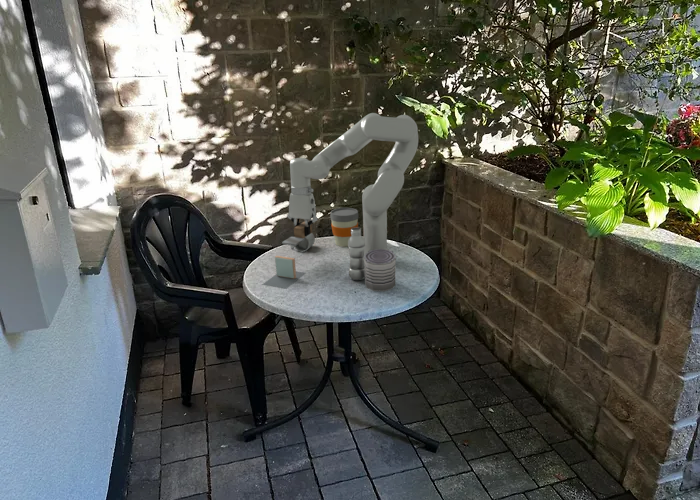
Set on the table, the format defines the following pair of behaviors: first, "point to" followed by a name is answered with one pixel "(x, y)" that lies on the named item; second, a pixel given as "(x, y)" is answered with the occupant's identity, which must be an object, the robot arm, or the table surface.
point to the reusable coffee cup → (343, 224)
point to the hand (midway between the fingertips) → (303, 234)
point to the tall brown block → (297, 235)
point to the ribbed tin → (380, 270)
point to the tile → (285, 267)
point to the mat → (283, 280)
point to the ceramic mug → (305, 243)
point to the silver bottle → (356, 255)
